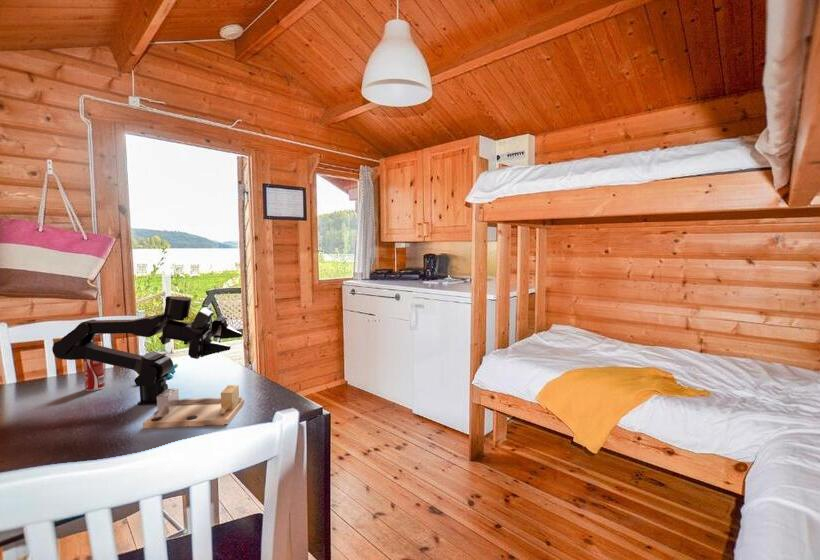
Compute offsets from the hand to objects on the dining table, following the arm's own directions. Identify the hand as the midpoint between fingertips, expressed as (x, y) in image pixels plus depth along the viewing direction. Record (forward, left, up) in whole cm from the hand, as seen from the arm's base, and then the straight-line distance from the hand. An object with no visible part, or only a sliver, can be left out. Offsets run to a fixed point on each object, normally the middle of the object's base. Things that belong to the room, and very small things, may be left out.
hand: (236, 341), depth 124 cm
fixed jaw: (-16, -12, -17) cm, 26 cm away
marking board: (-8, -11, -18) cm, 23 cm away
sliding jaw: (+1, -12, -17) cm, 20 cm away
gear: (-34, +23, -19) cm, 45 cm away
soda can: (-51, +14, -19) cm, 56 cm away
